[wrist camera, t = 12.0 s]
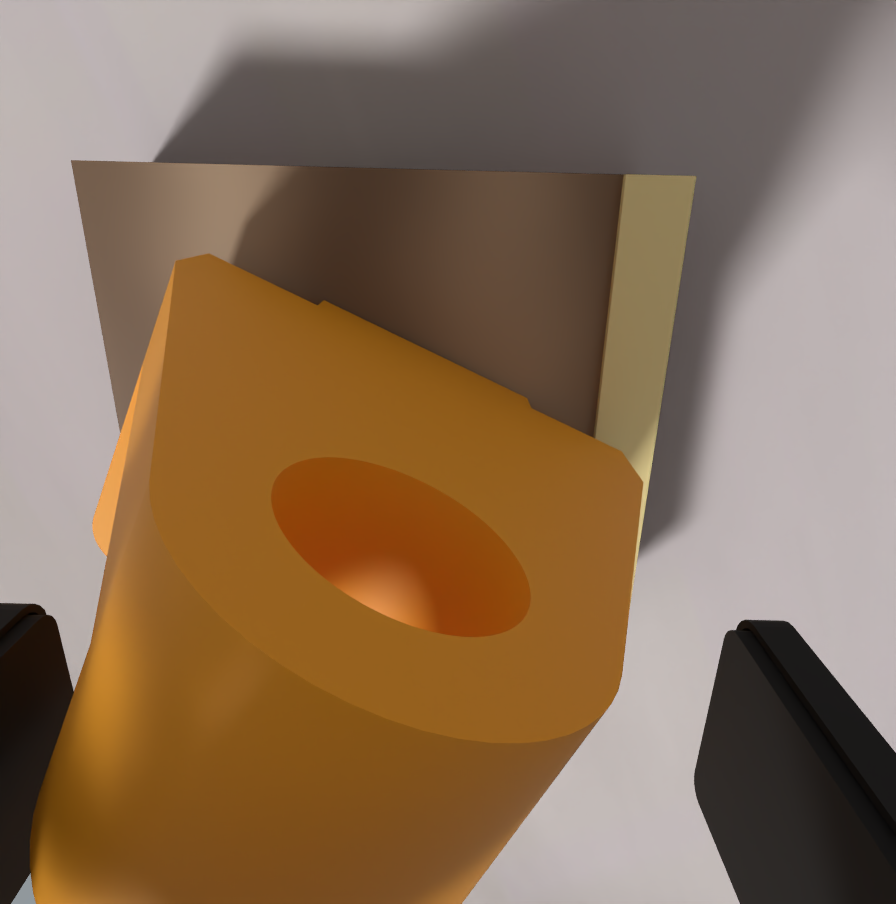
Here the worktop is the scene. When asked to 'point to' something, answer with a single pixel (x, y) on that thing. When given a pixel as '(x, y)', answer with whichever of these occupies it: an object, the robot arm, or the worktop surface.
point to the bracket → (328, 616)
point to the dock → (422, 270)
